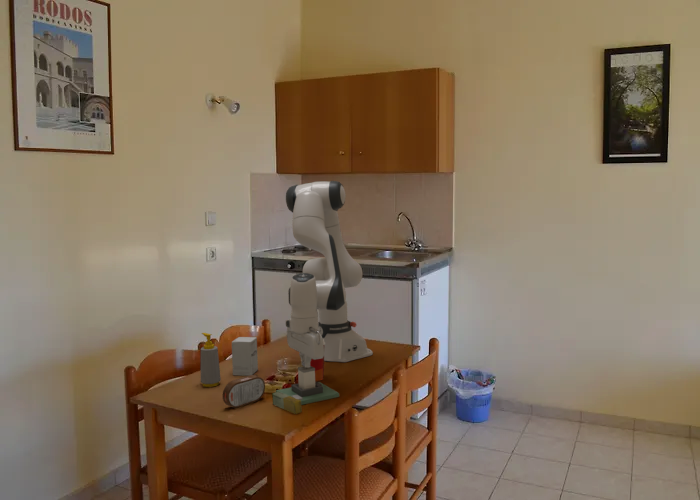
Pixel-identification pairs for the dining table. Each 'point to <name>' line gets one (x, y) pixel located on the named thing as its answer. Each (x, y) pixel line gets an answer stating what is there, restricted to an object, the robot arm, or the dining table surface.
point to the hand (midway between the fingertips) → (306, 366)
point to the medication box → (286, 402)
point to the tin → (243, 391)
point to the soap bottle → (209, 364)
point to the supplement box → (244, 356)
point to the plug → (306, 377)
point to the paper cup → (318, 367)
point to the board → (310, 393)
